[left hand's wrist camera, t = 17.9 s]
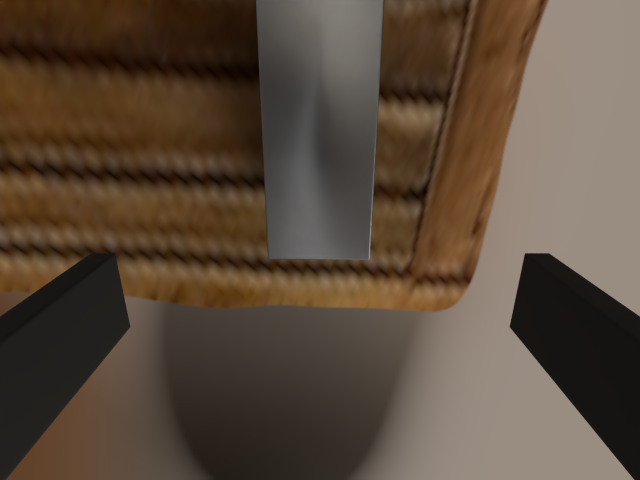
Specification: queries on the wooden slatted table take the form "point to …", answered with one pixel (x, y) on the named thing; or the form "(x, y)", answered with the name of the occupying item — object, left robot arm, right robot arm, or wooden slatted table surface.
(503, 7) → the wooden slatted table surface
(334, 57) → the box
